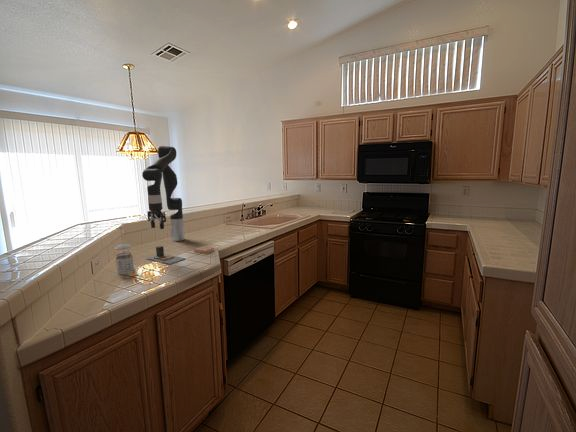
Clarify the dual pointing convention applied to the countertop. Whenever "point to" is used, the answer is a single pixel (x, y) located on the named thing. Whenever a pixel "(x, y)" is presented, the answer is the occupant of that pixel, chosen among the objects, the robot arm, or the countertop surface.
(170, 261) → the mat
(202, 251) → the tile
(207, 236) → the countertop surface
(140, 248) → the countertop surface
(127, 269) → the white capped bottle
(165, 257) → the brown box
